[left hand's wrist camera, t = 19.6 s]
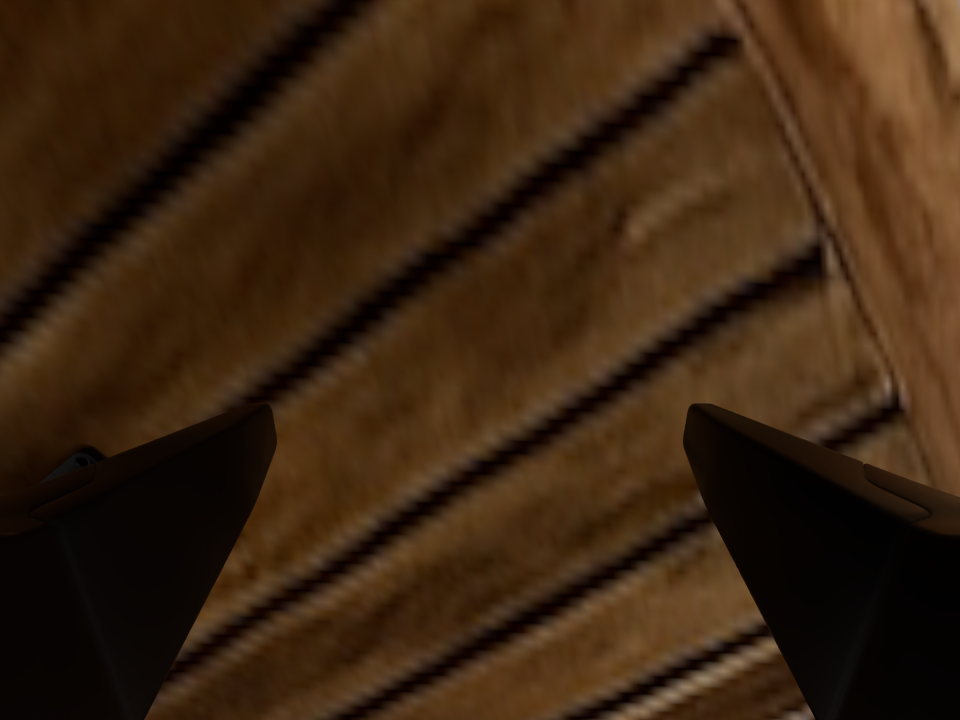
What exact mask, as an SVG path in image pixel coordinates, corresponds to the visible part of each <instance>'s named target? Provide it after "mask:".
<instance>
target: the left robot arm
mask: <svg viewBox="0 0 960 720" xmlns="http://www.w3.org/2000/svg"><path fill="white" fill-rule="evenodd" d="M276 446H277V436H276V430H275V424H274V418H273V412H272V409H271V407H270V406H269V405H268V404H265V403H264V404H247V405H245V406H242V407H239V408H237V409H234V410H232V411H229V412H226V413H224V414H221V415H219V416H216V417H213V418H211V419H208V420H206V421H203V422H200V423H198V424H195V425H193V426H190V427H187V428H185V429H182V430H179V431H177V432H174V433H172V434H169V435H166V436H164V437H161V438H159V439H156V440H153V441H151V442H148V443H146V444H143V445H140V446H138V447H135V448H133V449H130V450H127V451H125V452H122V453H120V454H117V455H114V456H112V457H109V458H107V459H104V458H102V457H101V456H100V455H99V454H98V453H96V452H95V451H93V450H92V449H88V448H82V449H80V450H79V451H77V452H76V453H75V454H73V455H72V456H71V457H70V458H69V459H67V460H66V461H65V462H64V463H63V464H61V465H60V466H59V467H58V468H57V469H56V470H54V471H53V472H52V473H51V474H50V475H48V476H47V477H46V478H45V479H44V480H43V481H41V482H40V483H39V484H37V485H34V486H31V487H29V488H26V489H23V490H20V491H17V492H14V493H11V494H9V495H6V496H3V497H0V720H144V719H145V717H146V715H147V713H148V711H149V709H150V707H151V706H152V704H153V702H154V700H155V698H156V696H157V694H158V692H159V690H160V688H161V686H162V684H163V682H164V680H165V678H166V676H167V675H168V673H169V671H170V669H171V667H172V665H173V663H174V661H175V659H176V657H177V655H178V653H179V651H180V649H181V647H182V645H183V644H184V642H185V640H186V638H187V636H188V634H189V632H190V630H191V628H192V626H193V624H194V622H195V620H196V618H197V616H198V615H199V613H200V611H201V609H202V607H203V605H204V603H205V601H206V599H207V597H208V595H209V593H210V591H211V589H212V587H213V585H214V584H215V582H216V580H217V578H218V576H219V574H220V572H221V570H222V568H223V566H224V564H225V562H226V560H227V558H228V556H229V555H230V553H231V551H232V549H233V547H234V545H235V543H236V541H237V539H238V537H239V535H240V533H241V531H242V529H243V527H244V525H245V524H246V522H247V520H248V518H249V516H250V514H251V512H252V510H253V508H254V506H255V503H256V501H257V498H258V496H259V493H260V490H261V488H262V485H263V482H264V480H265V477H266V474H267V471H268V469H269V466H270V463H271V461H272V458H273V455H274V452H275V450H276ZM683 446H684V450H685V452H686V455H687V458H688V461H689V463H690V466H691V469H692V471H693V474H694V477H695V480H696V482H697V485H698V488H699V490H700V493H701V496H702V498H703V501H704V503H705V506H706V508H707V510H708V512H709V514H710V516H711V518H712V520H713V522H714V524H715V525H716V527H717V529H718V531H719V533H720V535H721V537H722V539H723V541H724V543H725V545H726V547H727V549H728V551H729V553H730V555H731V556H732V558H733V560H734V562H735V564H736V566H737V568H738V570H739V572H740V574H741V576H742V578H743V580H744V582H745V584H746V585H747V587H748V589H749V591H750V593H751V595H752V597H753V599H754V601H755V603H756V605H757V607H758V609H759V611H760V613H761V615H762V616H763V618H764V620H765V622H766V624H767V626H768V628H769V630H770V632H771V634H772V636H773V638H774V640H775V642H776V644H777V645H778V647H779V649H780V651H781V653H782V655H783V657H784V659H785V661H786V663H787V665H788V667H789V669H790V671H791V673H792V675H793V676H794V678H795V680H796V682H797V684H798V686H799V688H800V690H801V692H802V694H803V696H804V698H805V700H806V702H807V704H808V706H809V707H810V709H811V711H812V713H813V715H814V717H815V719H816V720H960V497H957V496H954V495H951V494H949V493H946V492H943V491H940V490H937V489H934V488H931V487H929V486H926V485H923V484H920V483H917V482H914V481H912V480H909V479H906V478H904V477H901V476H898V475H896V474H893V473H890V472H888V471H885V470H882V469H880V468H877V467H874V466H872V465H869V464H864V465H863V462H861V461H859V460H856V459H853V458H851V457H848V456H846V455H843V454H840V453H838V452H835V451H833V450H830V449H827V448H825V447H822V446H820V445H817V444H814V443H812V442H809V441H807V440H804V439H801V438H799V437H796V436H794V435H791V434H788V433H786V432H783V431H781V430H778V429H775V428H773V427H770V426H767V425H765V424H762V423H760V422H757V421H754V420H752V419H749V418H747V417H744V416H741V415H739V414H736V413H734V412H731V411H728V410H726V409H723V408H721V407H718V406H715V405H713V404H692V405H691V406H690V407H689V409H688V412H687V418H686V424H685V430H684V436H683ZM83 458H84V459H86V460H87V461H88V462H87V461H85V460H84V459H83Z"/></svg>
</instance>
